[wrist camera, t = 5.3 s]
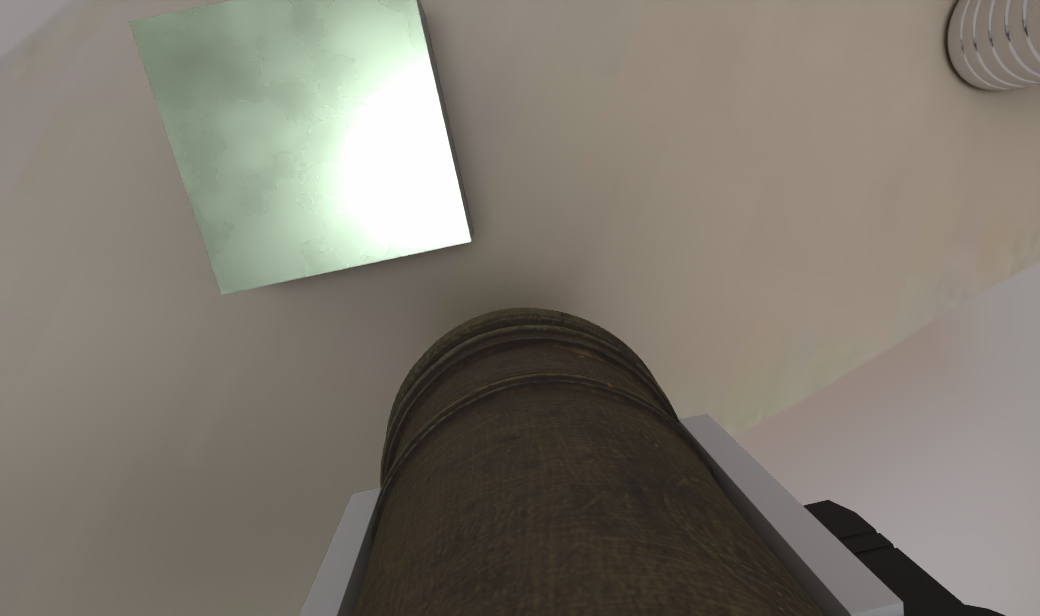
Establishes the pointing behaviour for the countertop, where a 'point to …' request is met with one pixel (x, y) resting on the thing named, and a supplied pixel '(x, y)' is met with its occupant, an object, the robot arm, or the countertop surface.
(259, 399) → the countertop surface
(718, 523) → the container
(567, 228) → the countertop surface
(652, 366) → the countertop surface
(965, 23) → the water bottle
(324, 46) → the grey square box
